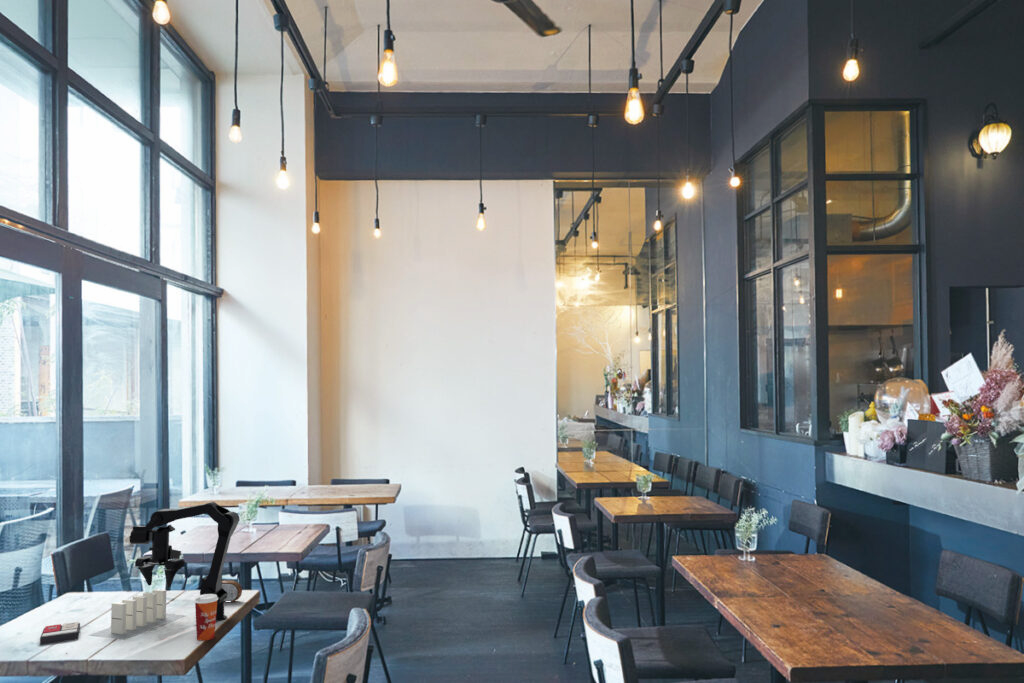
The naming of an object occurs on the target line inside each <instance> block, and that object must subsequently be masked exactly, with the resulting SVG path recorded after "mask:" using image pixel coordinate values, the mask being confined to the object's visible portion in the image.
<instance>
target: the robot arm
mask: <svg viewBox="0 0 1024 683" xmlns="http://www.w3.org/2000/svg"><path fill="white" fill-rule="evenodd" d="M202 515H208V516H209V517H210V518H211V519H212V520H213V521H214V522H215V523H216V524H217V535H218V537H217V542H216V544H215V548H214V553H213V556H212V559H211V564H210V568H209V572H208V574H207V575H205V576H203V577H202V578H201V580H200V586H199V588H198V590H199V596H200V595H204V594H216V595H217V598H218V600H217V612H216V620H218V621H221V620H220V619H223V620H226V619H225V618H227V619H228V616H226V615H225V602H224V599H226V598H227V595H228V593H227V592H226V591H225V590H224V589H223V588H222V580H223V575H222V573H223V568H224V565H225V561H226V556H227V553H228V549H229V546H230V542H231V537H232V536H233V534H234V532H235V531H236V529H237V526H238V524H239V522H240V516H239V515H238V513H237V512H236V511H231V510H229V509H228V508H225V507H223V506H222V505H220V504H218V503H216V502H215V501H210V502H206V503H204V504H203V503H202V504H197V505H193V506H187V507H183V508H162V509H159V510H157V511H156V510H155V511H154V512H153V513H152V514H151V515H150V520H149V521H148V522H147V524H145V525H139V524H138V525H133V526H132V530H131V532H130V535H129V543H130V545H149V543H151V547H150V546H149V549H148V550H149V551H151V555H146V556H142V557H138V558H137V559H136V560H135V562H134V567H136V568H137V570H139V571H140V573H141V574H142V576H143V578H144V580H145V583H146V585H147V586H149V587H150V586H152V582H153V571H154V568H155V567H156V566H164V568H165V569H163V570H164V577H165V581H166V582H165V584H166V586H167V588H171V586H172V584H173V581H174V579H175V576H176V574H177V572H178V571H179V570H182V568H184V567H185V566H186V561H185V559H184V558H181V555H182V551H181V550H177V549H173V546H172V545H171V544H170V533H172V532H174V531H176V528H175V527H174V526H172V524H170V523H172V522H175V521H177V520H181V519H182V520H183V519H187V518H192V517H197V516H198V517H199V516H202ZM167 524H168V525H167ZM165 525H167V526H165ZM157 527H158V528H157ZM156 528H157V529H156Z"/></svg>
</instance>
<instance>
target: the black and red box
mask: <svg viewBox="0 0 1024 683" xmlns="http://www.w3.org/2000/svg"><path fill="white" fill-rule="evenodd" d="M80 630H81V623H80V622H79V621H76V622H68V623H63V624H62V623H61V624H60V623H59V624H53V625H46V626H45V627H44V628H43V630H42V631H41V634H40V637H39V645H41V646H42V645H48V644H49V645H50V644H54V643H55V644H56V643H61V642H62V643H64V642H68V641H75V640H79V636H80Z"/></svg>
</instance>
